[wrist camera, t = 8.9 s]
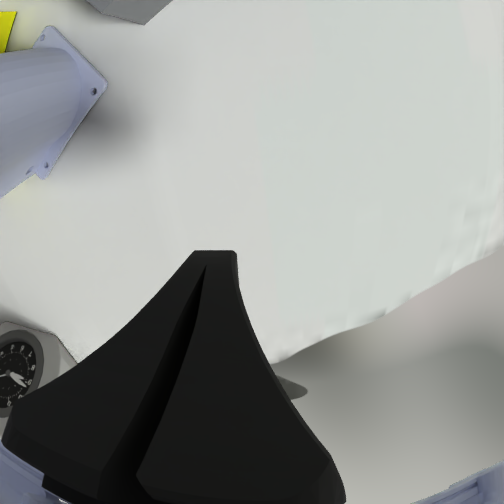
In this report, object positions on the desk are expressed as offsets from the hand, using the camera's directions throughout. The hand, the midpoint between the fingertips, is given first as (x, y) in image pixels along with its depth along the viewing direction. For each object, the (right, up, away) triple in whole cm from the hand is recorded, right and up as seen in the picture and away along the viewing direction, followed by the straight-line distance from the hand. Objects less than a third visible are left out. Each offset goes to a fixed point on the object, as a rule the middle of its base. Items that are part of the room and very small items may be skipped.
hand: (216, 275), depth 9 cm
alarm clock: (-32, -14, +23) cm, 42 cm away
